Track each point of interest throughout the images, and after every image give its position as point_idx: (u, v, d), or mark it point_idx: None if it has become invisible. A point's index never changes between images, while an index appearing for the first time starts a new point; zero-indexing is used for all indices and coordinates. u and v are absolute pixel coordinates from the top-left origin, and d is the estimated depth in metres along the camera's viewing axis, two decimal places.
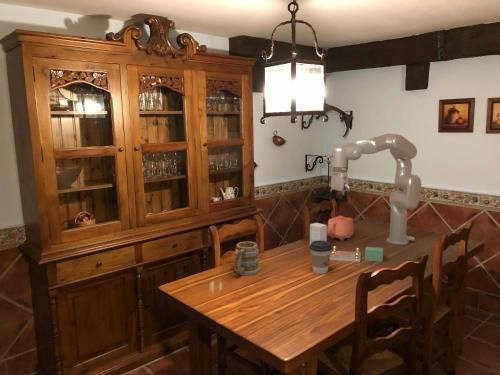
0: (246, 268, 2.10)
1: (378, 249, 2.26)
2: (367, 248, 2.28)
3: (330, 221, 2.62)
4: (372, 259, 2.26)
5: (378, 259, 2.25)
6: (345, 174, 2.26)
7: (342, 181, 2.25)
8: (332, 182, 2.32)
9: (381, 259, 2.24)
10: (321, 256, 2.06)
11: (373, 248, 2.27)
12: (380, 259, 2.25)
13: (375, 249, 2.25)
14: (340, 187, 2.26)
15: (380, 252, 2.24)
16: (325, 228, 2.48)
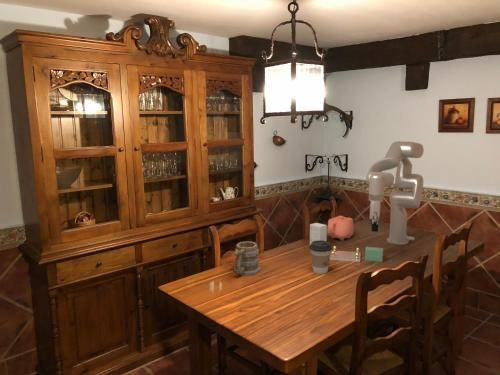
0: (246, 268, 2.10)
1: (378, 249, 2.25)
2: (367, 248, 2.28)
3: (330, 221, 2.62)
4: (372, 259, 2.26)
5: (378, 259, 2.25)
6: None
7: None
8: None
9: (381, 259, 2.24)
10: (321, 256, 2.06)
11: (373, 248, 2.27)
12: (380, 259, 2.24)
13: (375, 249, 2.25)
14: None
15: (380, 252, 2.24)
16: (325, 228, 2.48)
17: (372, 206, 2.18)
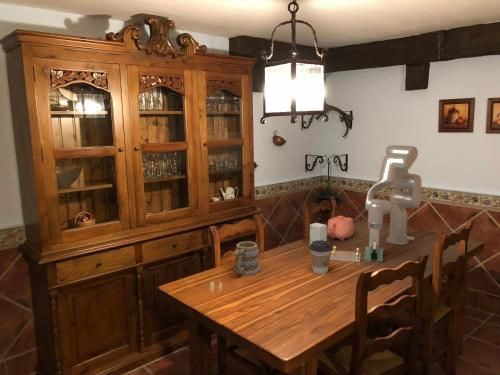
0: (246, 268, 2.10)
1: (378, 249, 2.25)
2: (367, 248, 2.28)
3: (330, 221, 2.62)
4: None
5: (378, 259, 2.25)
6: None
7: None
8: None
9: (381, 259, 2.24)
10: (321, 256, 2.06)
11: None
12: (380, 259, 2.24)
13: None
14: None
15: (380, 252, 2.24)
16: (325, 228, 2.48)
17: (371, 234, 2.21)
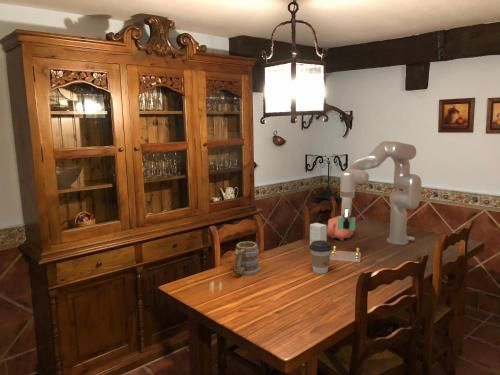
0: (246, 268, 2.10)
1: (351, 218, 2.26)
2: (340, 217, 2.29)
3: (330, 221, 2.62)
4: (344, 228, 2.27)
5: (350, 227, 2.26)
6: None
7: None
8: (351, 208, 2.23)
9: (353, 228, 2.25)
10: (321, 256, 2.06)
11: None
12: (352, 228, 2.25)
13: None
14: None
15: (352, 221, 2.25)
16: (325, 228, 2.48)
17: (343, 203, 2.22)
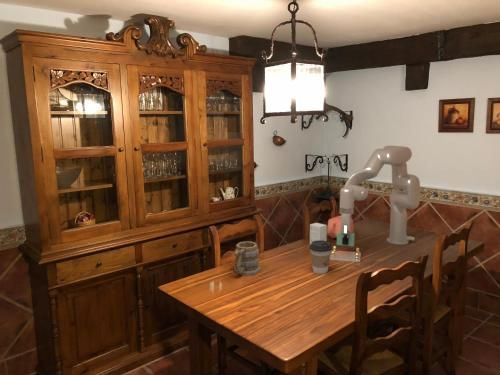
0: (246, 268, 2.10)
1: (350, 234, 2.28)
2: (339, 233, 2.31)
3: (330, 221, 2.62)
4: None
5: (349, 243, 2.27)
6: None
7: None
8: (350, 225, 2.25)
9: (352, 244, 2.27)
10: (321, 256, 2.06)
11: None
12: (351, 244, 2.27)
13: None
14: None
15: (351, 237, 2.26)
16: (325, 228, 2.48)
17: (342, 219, 2.24)
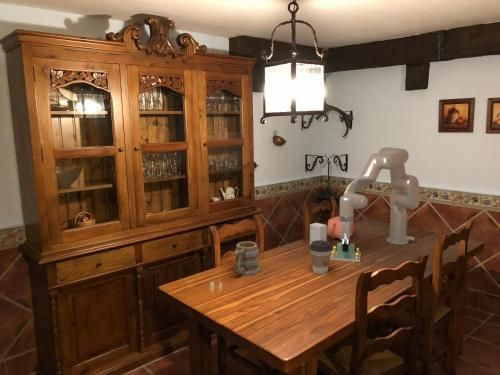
0: (246, 268, 2.10)
1: (350, 245, 2.29)
2: (339, 244, 2.32)
3: (330, 221, 2.62)
4: (344, 254, 2.30)
5: (349, 254, 2.29)
6: None
7: None
8: (350, 233, 2.26)
9: (352, 254, 2.28)
10: (321, 256, 2.06)
11: None
12: (351, 254, 2.28)
13: None
14: None
15: (351, 247, 2.28)
16: (325, 228, 2.48)
17: (342, 227, 2.25)
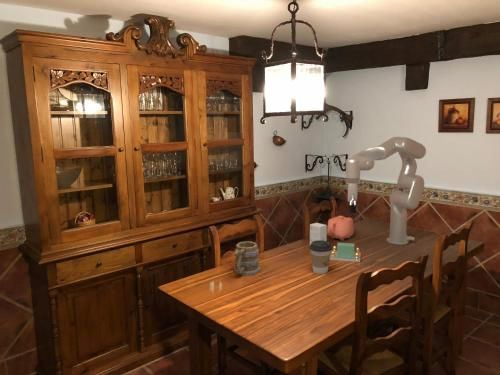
0: (246, 268, 2.10)
1: (350, 245, 2.29)
2: (339, 244, 2.32)
3: (330, 221, 2.62)
4: (344, 254, 2.30)
5: (349, 254, 2.29)
6: None
7: None
8: None
9: (352, 254, 2.28)
10: (321, 256, 2.06)
11: (345, 244, 2.31)
12: (351, 254, 2.28)
13: (347, 245, 2.29)
14: None
15: (351, 247, 2.28)
16: (325, 228, 2.48)
17: (349, 189, 2.28)
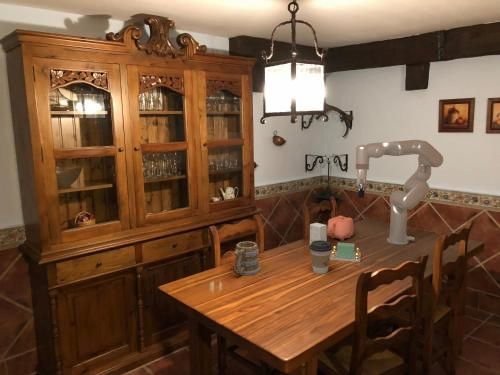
0: (246, 268, 2.10)
1: (350, 245, 2.29)
2: (339, 244, 2.32)
3: (330, 221, 2.62)
4: (344, 254, 2.30)
5: (349, 254, 2.29)
6: None
7: None
8: (365, 180, 2.40)
9: (352, 254, 2.28)
10: (321, 256, 2.06)
11: (345, 244, 2.31)
12: (351, 254, 2.28)
13: (347, 245, 2.29)
14: None
15: (351, 247, 2.28)
16: (325, 228, 2.48)
17: (358, 174, 2.39)
